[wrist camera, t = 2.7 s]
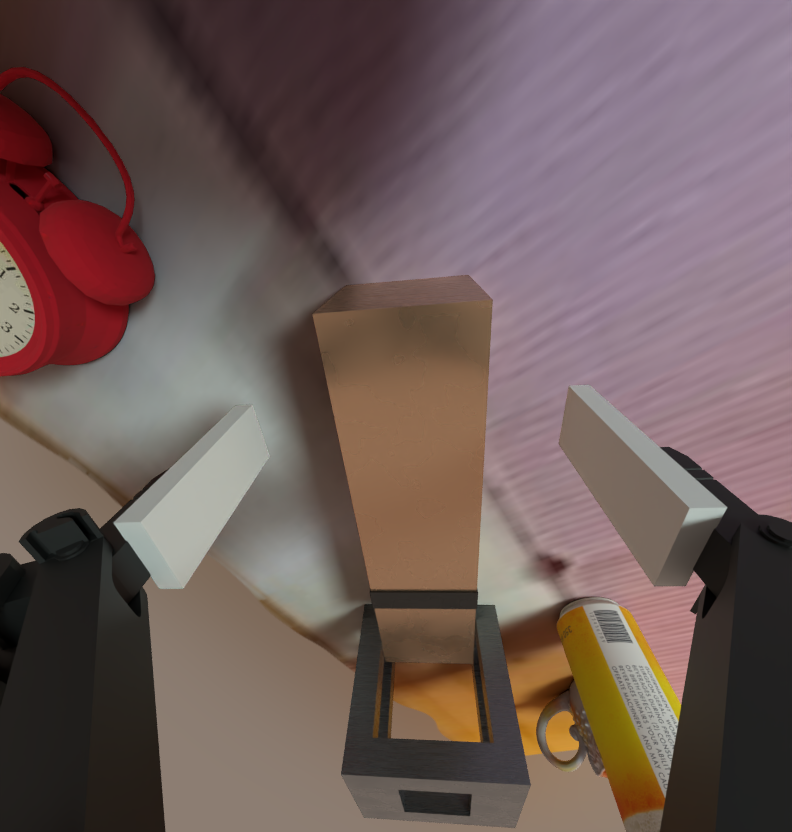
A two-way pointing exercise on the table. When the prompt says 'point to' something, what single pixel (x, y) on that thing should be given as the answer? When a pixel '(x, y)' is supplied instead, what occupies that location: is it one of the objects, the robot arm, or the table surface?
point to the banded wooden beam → (413, 451)
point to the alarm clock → (59, 251)
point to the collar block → (436, 743)
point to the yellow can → (623, 705)
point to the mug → (571, 732)
